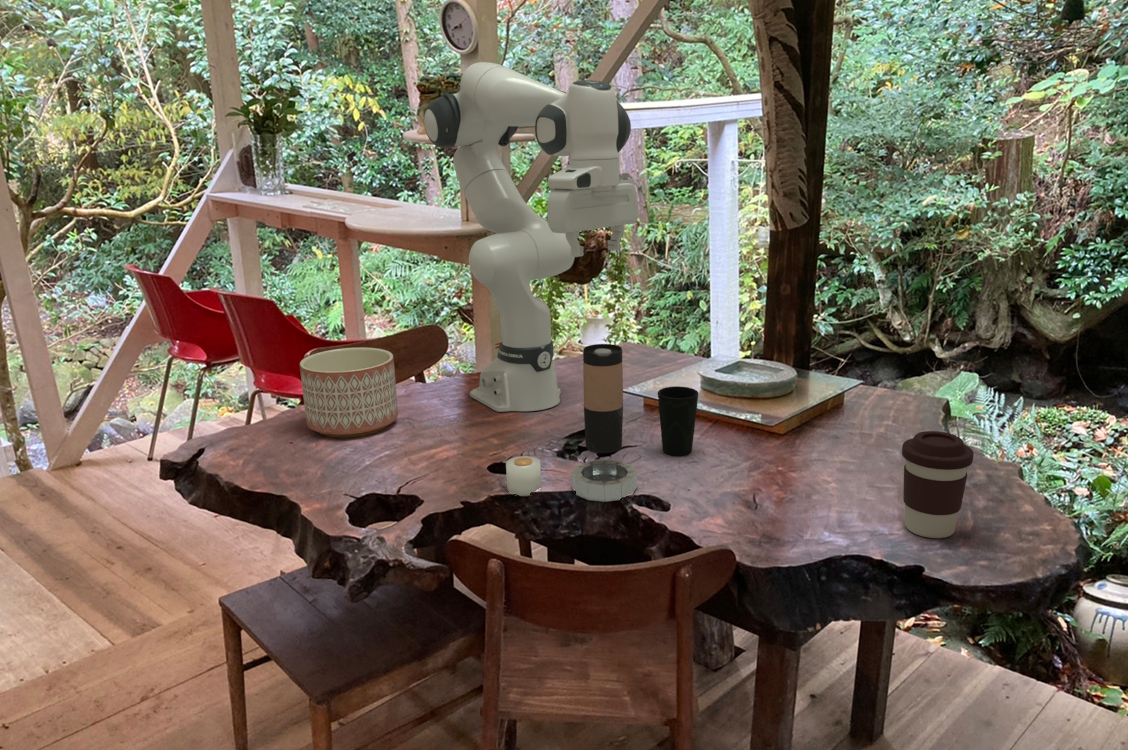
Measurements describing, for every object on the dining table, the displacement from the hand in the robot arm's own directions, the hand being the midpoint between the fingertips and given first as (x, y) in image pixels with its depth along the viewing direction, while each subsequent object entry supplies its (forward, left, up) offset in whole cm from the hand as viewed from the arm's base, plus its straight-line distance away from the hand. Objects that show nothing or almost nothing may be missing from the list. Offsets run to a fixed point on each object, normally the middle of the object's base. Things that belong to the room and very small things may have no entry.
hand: (595, 253), depth 160 cm
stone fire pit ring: (+13, -12, -39) cm, 43 cm away
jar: (+3, -22, -39) cm, 45 cm away
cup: (+11, +10, -39) cm, 42 cm away
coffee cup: (+60, +12, -39) cm, 73 cm away
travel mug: (-1, +2, -39) cm, 39 cm away
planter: (-49, -26, -39) cm, 67 cm away
